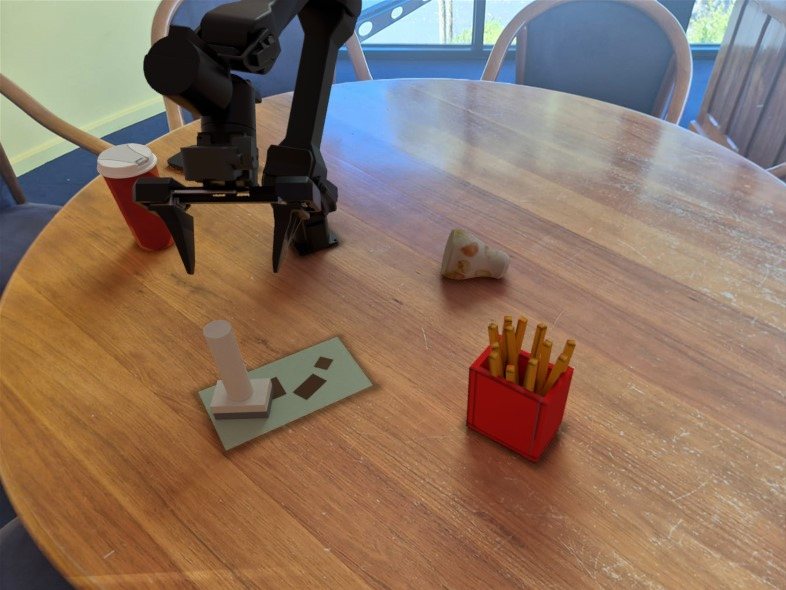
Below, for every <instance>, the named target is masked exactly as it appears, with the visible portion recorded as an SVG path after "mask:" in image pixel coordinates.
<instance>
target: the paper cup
mask: <svg viewBox="0 0 786 590" xmlns="http://www.w3.org/2000/svg"><path fill="white" fill-rule="evenodd" d="M96 162H97V165H96V171H97V172H98V174H100V175H101V176H102V177H103V179H104V182H105V184H106V185H107V187H108V189H109V192H110V193H111V195H112V197H113V199H114V201H115V203H116V205H117V207H118V209H119V212H120V213H121V215H122V217H123V219H124V221H125V222H126V225H127V226H128V228H129V230H130V232H131V235H132V236H133V238H134V240H135V242H136V243H137V245H138V246H139V248H140V249H142V250H144V251H145V250H146V251H151V252H152V251H160V250H163V249H166V248H168V247H170V246H172V245H173V244H175V242H174V240H173V237H172V235H171V233H170V232H169V230H168V228H167V226H166V225H165V223H164V222H163V220H162V219H161V218H160V217H158V216H156V215H154V214H152V213H150V212H148V210H147V209H145V208H143V207H141V206H139V205H137V204H135V203H133V189H132V187H133V186H134V184H135V182H136V181H137V180H138V178H139V177H161V176H160V172H159V169H158V165H157V163H158V157H157V156H156V154H155V153H153V152H152V150H151V149H150V148H149V147H148V146H147V145H144V144H140V143H134V142H133V143H132V142H131V143H123V144H118V145H117V144H116V145H114V146H111V147H109V148H107V149H105V150H102V152H100V154H99V155H98V157H97V160H96Z"/></svg>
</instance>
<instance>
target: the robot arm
mask: <svg viewBox="0 0 786 590" xmlns="http://www.w3.org/2000/svg"><path fill="white" fill-rule="evenodd" d="M362 9H363V0H238V1H233V2H227V3H223V4H220V5H218V6H216V7H214V8H212V9H210V10H208V11H207V12H205V13H204V15H203V16H202V18H201V20H200V22H199V25H198V26H196V27H195V29H192V28H191V27H190V26H188V25H180V24H169V26H168V32H167V35H166V36H164V37H161V38H159V39H157V41H155V42H154V43H153V44H152V46H151V47H150V48H149V49H148V52H147V53H146V54H145V55H144V57H143V61H142V62H143V63H142V70H143V71H142V72H143V76H144V78H145V81H146V83H147V84H148V86H149V87H150V88H151V90H153V91H155V92H156V93H157V94H159V95H161V96H163V97H164V98H166V99H167V100H168V101H171V102H172V103H174V104H175V105H177V106H178V107H180V108H182V109H184V110H185V111H187V112H188V113H190V114H192V115H194V116H197V117H200V119H199V121H200V131H197V132H196V134H197V136H196V144H195V145H196V146H191V145H189V146H188V145H187V146H182V147H179V149H180V151H181V157H182V163H183V170H182V171H183V174H184V181H186V182H195V183H197V184H202V186H201V185H200V186H186V185H184V183H181V182H180V181H178V180H177V179H175V178H173V177H172V176H171V177H170V176H167V177H166V176H160V177H139V178H138V180H137V181H136V182H135V184H134V186H133V187H132V189H133V203H135V204H137V205H139V206H141V207H143V208H145V209H147V210H148V212H150V213H152V214H154V215H156V216H158V217H160V218H161V219H162V220H163V222H164V223H165V225H166V226H167V228H168V230H169V232H170V233H171V235H172V237H173V240H174V244H175V247H176V250H177V252H178V255H179V257H180V259H181V262H182V264H183V267H184V270H185V272H186V274H187V275H190V276H193V275H195V270H196V269H195V268H196V244H195V243H196V242H195V241H196V240H195V218H194V217H195V216H193V215H192V214H189V213H188V212H187V211H188V210H189V209H190V208H191V207H192V205H251V204H253V205H254V204H256V205H257V204H259V205H261V204H263V205H264V204H269V205H270V207H271V208H272V214H273V235H272V236H273V237H272V253H271V263H272V272H273V274H279V273H280V271H281V268H282V266H283V262H284V260H285V257H286V254H287V252H288V249H289V246H290V245H291V246H292V248H293V249H294V250H295V252H296V253H297V254H298V255H299V256H304V255H308V254H311V253H314V252H318V251H320V250H323V249H326V248H329V247H333V246H336V245H337V244H339V243H340V241H339V240H340V239H339V238H338V237H337V236H336V235H335V234H334V233H333V231H332V230H331V229H330V227H329V219H328V216H329V214H332V213H334V212H336V211H337V210H338V206H337V203H338V201H339V200H338V199H339V189H338V186H337V185H336V184H334V183H333V182H332V181H330V180H328V167H327V165H326V163H325V160H324V158H323V155H322V152H321V145H322V139H323V135H324V129H325V123H326V119H327V113H328V107H329V103H330V102H329V101H330V97H331V93H332V92H331V91H332V88H333V81H334V77H335V71H336V65H337V59H338V54H339V51H340V49H341V48H342V47H343V46H344V45H345V44H346V43H347V42H348V41H349V40H350V39H351V38H352V36H353V35H354V33H355V29H356V25H357V22H358V18H359V17H360V16H361V14H362V11H363V10H362ZM296 16H297V18H298V19H297V20H298V22H299V24H300V26H301V29H302V32H303V40H302V46H301V51H300V55H299V62H298V67H297V72H296V78H295V82H294V83H295V84H294V87H293V94H292V98H291V99H292V100H291V104H290V111H289V114H288V120H287V125H286V131H285V136H284V138H283V139H282V140H281V141H280V142H279V143H278V144H270V145H269V147H268V148H267V150H266V158H265V164H264V167H263V169H262V175H261V182H260V183H261V185H260V184H259V177H258V176H259V174H258V173H259V172H258V169H257V168H259V167H260V160H259V158H260V156H259V155H260V154H259V153H260V151H259V147H258V143H257V142H258V140H257V114H256V113H257V112H256V105H257V104H259V105H260V104H262V102H263V98H262V95H261V94H260V92H259V91H258V90H257V89H256V87H254V85H253V84H252V81H251V80H250V79H249V78H245V79H244V77H242V76H240V75H238V74H236V73H231V72H238V73H246V74H254V75H261V76H265V75H267V74H268V73H270V72H271V70H272V69H273V67H274V65H275V63H276V62H277V60H278V58H279V57H280V55H281V53H282V48H281V47H282V46H281V42H280V36H281V34H283V32H284V30H286V28H287V27H288V26H289V24H290V23H291V22H292V21H293V20H294V19H295V18H296ZM180 151H179V152H180ZM238 194H239V195H238ZM241 194H242V195H241ZM244 194H245V195H244Z"/></svg>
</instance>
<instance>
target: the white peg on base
mask: <svg viewBox="0 0 786 590" xmlns="http://www.w3.org/2000/svg"><path fill="white" fill-rule="evenodd" d="M202 334H203V337H204V339H205V342H206V344H207V347H208V349H209V352H210V354H211V358H212V360H213V362H214V365H215V367H216V369H217V373H218V374H219V377H220V379H217V381H216V384H215V385H216V387H215V391H214V394H213V398H212V401H211V405H210V408H211V410H212V413H213V415H214V417H215V419H216V420H221V419H250V418H269V414H270V409H271V405H272V400H273V395H274V390H273V387H272V383H271V380H270V378H267V379H250V378H249V375H248V372H249V371H248V370H247V367H246V364H245V361H244V359H243V355H242V352H241V349H240V346H239V343H238V340H237V338H236V335H235V333H234V329H233V326H232V324H231V322H229V321H228V320H225V319H214V320H212V321H210V322H208V323H207V324H206V325H205V326H204V327H203V329H202Z"/></svg>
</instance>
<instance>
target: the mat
mask: <svg viewBox="0 0 786 590" xmlns="http://www.w3.org/2000/svg"><path fill="white" fill-rule="evenodd" d="M247 372H248V375H249V378H250V379H267V378H270V380H271V383H272V387H273V390H274V395H273V400H272V405H271V409H270V414H269V418H250V419H221V420H216V419H215V417H214V415H213V413H212V410H211V408H210V405H211V401H212V398H213V394H214V391H215V387H216V384H215V385H212V386H210V387H207V388H204V389H202V390H199V391H198V396H199V397H200V399H201V401H202V403H203V405H204V407H205V410H206V412H207V413H208V416H209V418H210V420H211V423H212V425H213V427H214V428H215V430H216V433H217V435H218V437H219V439H220V442H221V443H222V445H223V448H224V450H225V451H229V450H231V449H233V448H236V447H238V446H240V445H243V444H244V443H246V442H249V441H250V440H253V439H255V438H258V437H261V436H262V435H265V434H266V433H269V432H271V431H273V430H275V429H278V428H280V427H282V426H284V425H287V424H289V423H291V422H293V421H295V420H298V419H300V418H303V417H304V416H307V415H309V414H311V413H314V412H316V411H318V410H320V409H323V408H325V407H327V406H329V405H331V404H335V403H336V402H338V401H341V400H343V399H345V398H347V397H350V396H352V395H355V394H356V393H359V392H361V391H363V390H366V389H368V388H370V387H372V386H373V384H372V382H371V381H370V379H369V378H368V376H367V375H366V374H365V372H364V371H363V370H362V369H361V367H360V365H359V364H358V363H357V362H356V360H355V359H354V357H353V356H352V354H351V353H350V352H349V350H348V349H347V348H346V346H345V345H344V344H343V342H342V341H341V339H340V338H339V337H338V336H334V337H333V338H330V339H327V340H325V341H323V342H320V343H317V344H315V345H312V346H310V347H308V348H305V349H302V350H299V351H297V352H295V353H293V354H290V355H287V356H284V357H282V358H280V359H278V360H274V361H272V362H269V363H267V364H265V365H262V366H260V367H257V368H255V369H252V370H250V371H247Z"/></svg>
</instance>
